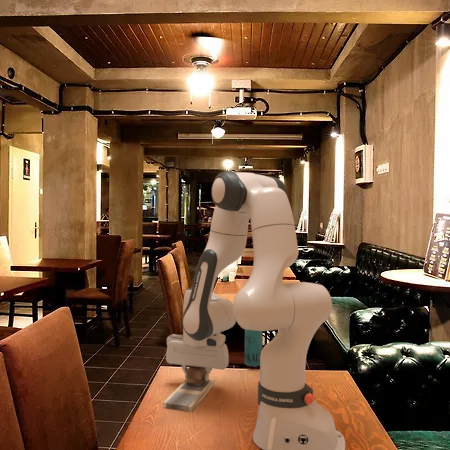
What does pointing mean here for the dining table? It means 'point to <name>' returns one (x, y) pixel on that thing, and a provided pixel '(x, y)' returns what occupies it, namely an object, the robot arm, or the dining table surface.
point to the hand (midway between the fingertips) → (196, 379)
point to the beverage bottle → (253, 347)
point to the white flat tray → (187, 396)
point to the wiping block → (195, 376)
